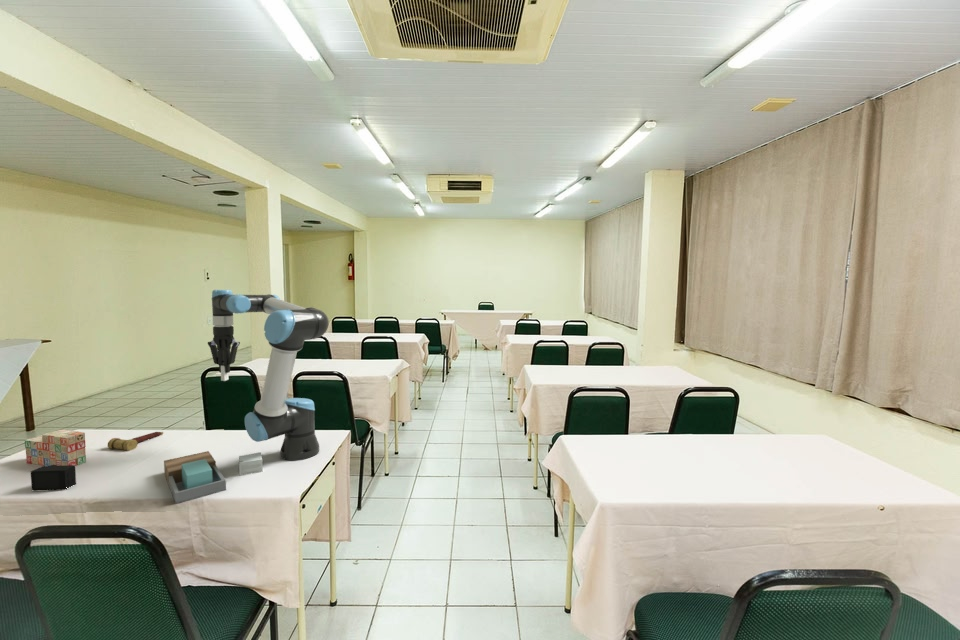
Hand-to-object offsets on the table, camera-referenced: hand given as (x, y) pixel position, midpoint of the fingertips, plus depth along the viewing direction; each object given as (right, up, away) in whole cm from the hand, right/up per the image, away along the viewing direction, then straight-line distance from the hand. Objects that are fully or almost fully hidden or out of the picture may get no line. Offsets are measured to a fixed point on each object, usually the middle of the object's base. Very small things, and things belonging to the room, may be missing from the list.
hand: (224, 380), depth 178 cm
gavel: (-41, -29, +6) cm, 51 cm away
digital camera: (-36, -32, -36) cm, 60 cm away
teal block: (+8, -28, -31) cm, 43 cm away
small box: (+23, -32, -20) cm, 44 cm away
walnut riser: (+3, -31, -25) cm, 40 cm away
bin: (+13, -32, -35) cm, 49 cm away
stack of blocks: (-56, -30, -17) cm, 65 cm away
